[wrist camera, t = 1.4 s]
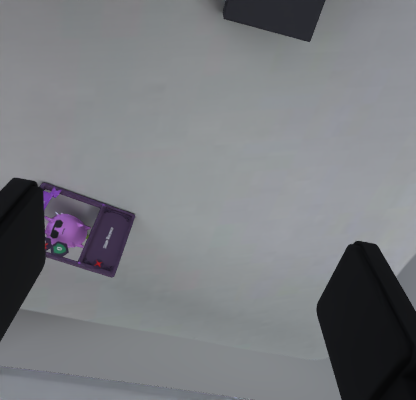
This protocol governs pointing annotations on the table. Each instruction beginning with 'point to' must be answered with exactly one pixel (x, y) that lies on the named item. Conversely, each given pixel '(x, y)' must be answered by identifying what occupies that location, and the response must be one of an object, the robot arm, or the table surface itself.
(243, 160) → the table surface
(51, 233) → the game card
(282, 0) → the tab pad
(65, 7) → the table surface
